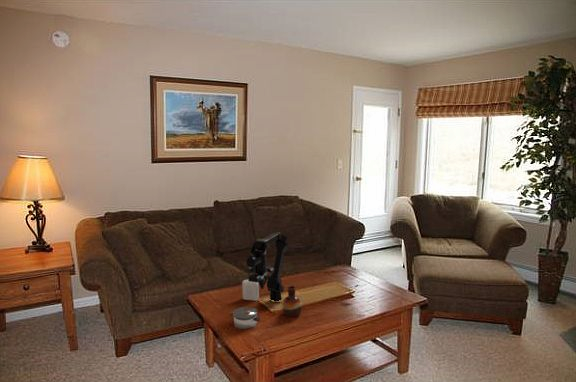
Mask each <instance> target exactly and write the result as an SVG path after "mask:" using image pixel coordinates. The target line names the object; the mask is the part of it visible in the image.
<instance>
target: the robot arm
mask: <svg viewBox="0 0 576 382" xmlns="http://www.w3.org/2000/svg"><path fill="white" fill-rule="evenodd" d="M273 243H274V244H275V245H274V246H275V250H276V253H275V258H274V263H273V266H268V265H269V263H268V262H267V253H268V249H269V247H270V245H272V244H273ZM290 244H291V242H290V239H289V238H288V237H287V236H286V235H284V234H282V233H281V232H278V231H274V232H272V233H271V234H269V235H268V236H266V237H264V238H258V239H256V240H254V241H253V244H252V247H251V249H250V253H249V254H248V258H246V265H247V267H246V269H245V271H246V273H247V274H249V276H248V278H247V280H248V281H251V282H258V286H259V288H260V289H261V290H263V289H264V288H265V285H266V287H267V291H268V292H269V300H270V299H271V300H274V301H279V300H281V299H282V300H283V296H282V293H284V291H285V286H284V285H283V284H282V278H281V273H282V269H283V268H282V267H283V262H284V258H285V252H286V251H288V249H289V246H290ZM269 273H270V274H271V275H268V274H269ZM271 300H270V301H271Z"/></svg>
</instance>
